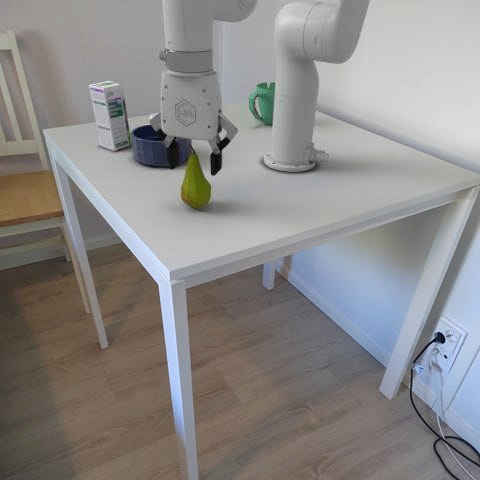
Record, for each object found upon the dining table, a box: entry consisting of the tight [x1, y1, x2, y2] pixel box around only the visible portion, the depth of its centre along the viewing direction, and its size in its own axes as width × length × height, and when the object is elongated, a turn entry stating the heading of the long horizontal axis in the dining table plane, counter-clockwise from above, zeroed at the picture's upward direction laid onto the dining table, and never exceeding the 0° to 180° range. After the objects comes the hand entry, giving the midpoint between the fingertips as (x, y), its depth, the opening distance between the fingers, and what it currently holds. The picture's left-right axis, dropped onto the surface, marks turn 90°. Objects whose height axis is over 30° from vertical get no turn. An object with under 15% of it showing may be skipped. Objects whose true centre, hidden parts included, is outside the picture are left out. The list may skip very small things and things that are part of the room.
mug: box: [248, 81, 276, 126], centre depth 125 cm, size 15×10×10 cm
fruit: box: [180, 144, 212, 209], centre depth 81 cm, size 6×6×12 cm
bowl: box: [130, 123, 193, 167], centre depth 103 cm, size 14×14×6 cm
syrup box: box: [88, 80, 132, 152], centre depth 106 cm, size 6×6×14 cm
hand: (195, 169), depth 80 cm, fingers open, 7 cm apart
